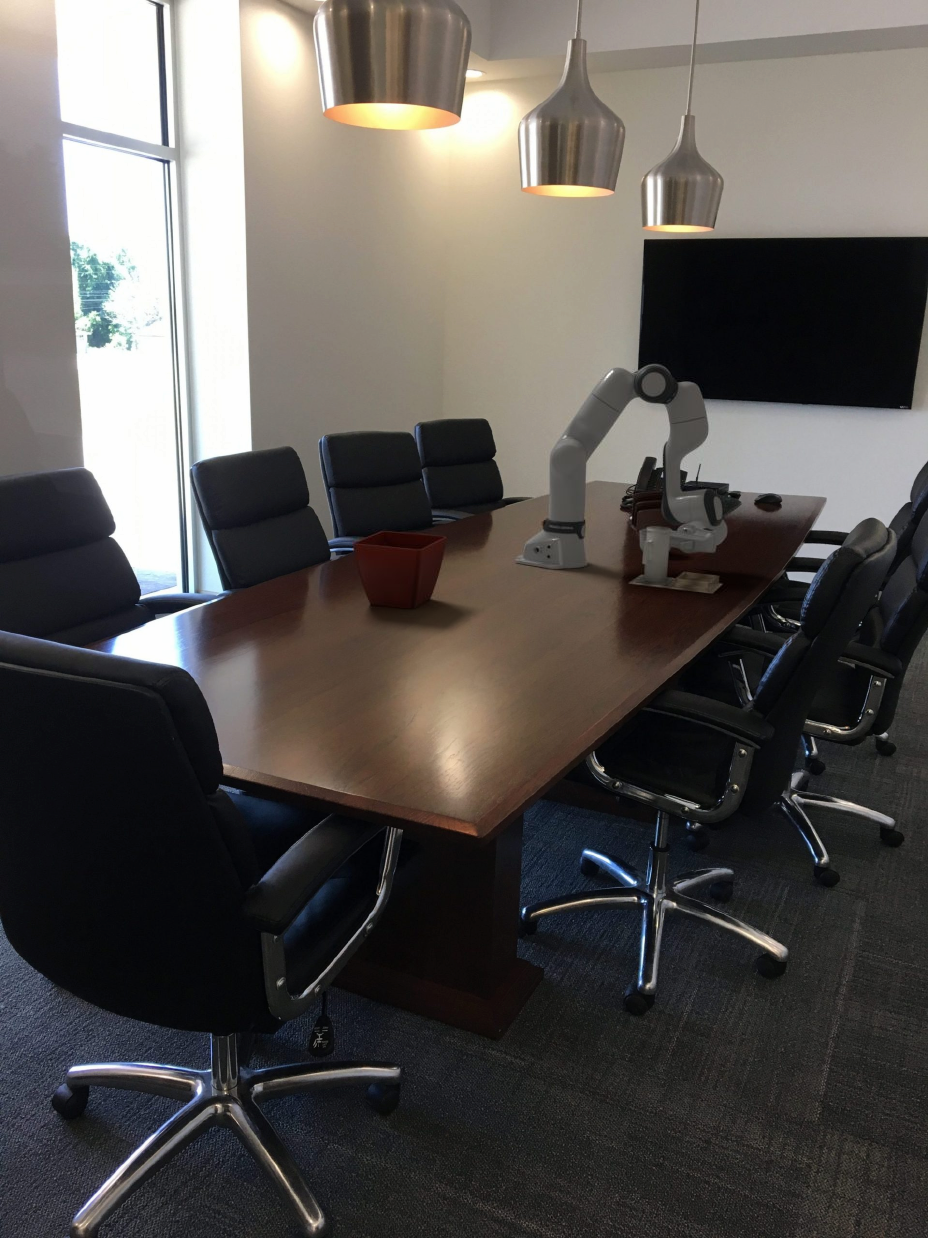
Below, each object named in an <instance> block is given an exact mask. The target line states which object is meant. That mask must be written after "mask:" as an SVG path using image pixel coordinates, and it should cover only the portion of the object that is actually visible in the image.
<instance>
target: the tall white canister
mask: <svg viewBox="0 0 928 1238" xmlns="http://www.w3.org/2000/svg"><path fill="white" fill-rule="evenodd" d="M670 533H671V529H670V528H667V527H658V526H653V527H647V541H644V547H643V551H642V562H641V563H642V564H643V565H644V572H643V575H644V580H645V581H648V582H656V583H660V582H666V579H667V577H668V576H667V575H668V564H669V552H670V550H669V541H670Z"/></svg>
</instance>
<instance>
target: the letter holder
mask: <svg viewBox="0 0 928 1238" xmlns="http://www.w3.org/2000/svg"><path fill="white" fill-rule="evenodd" d="M662 499H663V490H657V491H655V490H654V491H643V492H642V491H641V492H635V493H634V494H633V495H632V509H631V524H630V527H631V528H632V529H633V530H634V531H635V532H636V533H637V532H638V533H639V531H640V530H643V529H647V527H653V526H658V527H667V528H670V529H671V530H672V531H677V529H678V528H679V527H680V526H681V525H683V524H680V525H672V524H670V523H669V522H668V521H667V520H666V519H665V518H664V517H663V515H662V510H661V507H662ZM685 524H687V523H685Z"/></svg>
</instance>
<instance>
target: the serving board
mask: <svg viewBox="0 0 928 1238" xmlns="http://www.w3.org/2000/svg"><path fill="white" fill-rule="evenodd" d="M628 584H630V585H631V584H632V585H639V586H645V587H646V586H648V587H654V588H655V587H656V588H663V589H671V590H680V591H688V592H690V591H691V592H696V593H697V592H699V593H705V594H714V593H715V592H716V591H717V590H718V589H719V588H720V587H721V586H723V583H720V575H716V574H715V575H714V574H705V573H696V572H690V571H689V572H688V571H683V572H682V573H680V574H679V575H678V576H677V577H675V578H674V577H668V576H667V579H666V582H660V583H656V582H648V581H645V580H644V574H640V575H637V577H635V578H634V579H632V580H631V581H629V582H628Z"/></svg>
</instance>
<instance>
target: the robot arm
mask: <svg viewBox="0 0 928 1238" xmlns="http://www.w3.org/2000/svg"><path fill="white" fill-rule="evenodd" d="M637 398H640V399H641V400H642V401H644V402H647V403H650V404H658V405H660V404H661V405H664V407H665V408H666V411H667V416H668V422H669V436H668V439H667V441H666V442H665V443H664V444H663V445H664V446H663V449H662V491H663V499H662V507H661V510H662V515H663V517H664V518H665V519H666V520H667V521H668V522H669V523H670V524H672V525H680V524H683V525H681V526H680V527H679V528H678V529H677V531H671V533H670V541H669V547H671V548H677V549H679V550H680V551H682V552H683V553H685V554H692V553H695V554H697V553H707V554H708V553H709V554H710V553H711V554H712V553H713V554H714V553H716V549H717V546H718V545H720V544H722V543H723V541H725V539H726V537H727V535H728V525H727V523H726V521H725V520H724V504H723V500H722V498H721V496H720V495H719V493H717V491H716V490H714V489H712V488H705V489H704V488H703V489H695V490H690V491H689V490H688V491H682V489H681V463H682V461H683V459H684V458H685V457H686V456H687V455H689V454H690V453H691V452H693V451H696V450H697V449H698V448H699V447H700V446H702V445H703V444H704V443H705V441H706V439H707V438H708V435H709V431H710V429H709V419H708V415H707V408H706V404H705V402H704V398H703V395H702V392H701V389H700V387H699V386H698V384H697V383H695V382H691V381H681V382H677V380H676V379H675V378H674V377H673V376H672V374H671V372H670V371H669V369H668V368H667V367H665V366H664V365H662V364H659V363H652V364H650V363H649V364H648V365H645V366H644V367H642V368H640V369H639V370H635V371H634V372H631V371H629V370H627V369H625V368H623V367H613V368H611V369H610V370H609V371H607V373H606V374H604V376H603V377H602V378H601V379H600V380H599V382H598V383H597V384H596V385H595V386H594V388H593V389H592V390H591V392H590V394H589V395H588V397H587V398H586V400H584V402H583V404H582V405H581V406H580V408H579V410H578V411H577V413H576V414H575V416H574V417H573V419H572V420H571V421H570V423H569V424H568V426H567V427H566V428H565V430H564V431H563V433H562V434H561V436H560V438H559V439H558V440H557V441H556V443H555V444H554V446H553V448H552V450H551V451H550V453H549V496H548V499H549V500H548V505H549V506H548V517H546V519H543V521H541V522H540V526H541V527H542V529H541V531H539V532H538V533H536V534H535V535H534V536H532V537H531V538H529V539H528V540H527V541H526V542H525V544H524V547H523V552H522V554H519V555H518V556H517V557H516V558H515V563H517V564H522V565H528V566H532V567H534V566H535V567H540V568H544V569H550V570H560V569H562V570H563V569H576V568H578V569H579V568H582V567H586V566H588V561H587V556H586V549H585V537H586V532H587V531H586V530H587V529H586V519H585V512H586V511H585V508H586V483H587V482H586V480H587V479H586V478H587V463H588V461H589V459H590V458H591V456H592V455H593V453H594V452H595V451H596V449H597V448H598V447H599V446H600V444H601V443H602V441H603V440H604V439H605V437H606V436H607V434H608V433H609V432H610V430H611V428H613V426H614V424H615V423H616V421H617V420H618V419H619V417H620V416H621V415H622V413H623V412H624V410H625V408H626V407H627V406H628V404H629V403H630V402H632V401H633V400H634V399H637ZM685 523H687V524H685ZM646 541H647V536H646Z"/></svg>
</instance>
